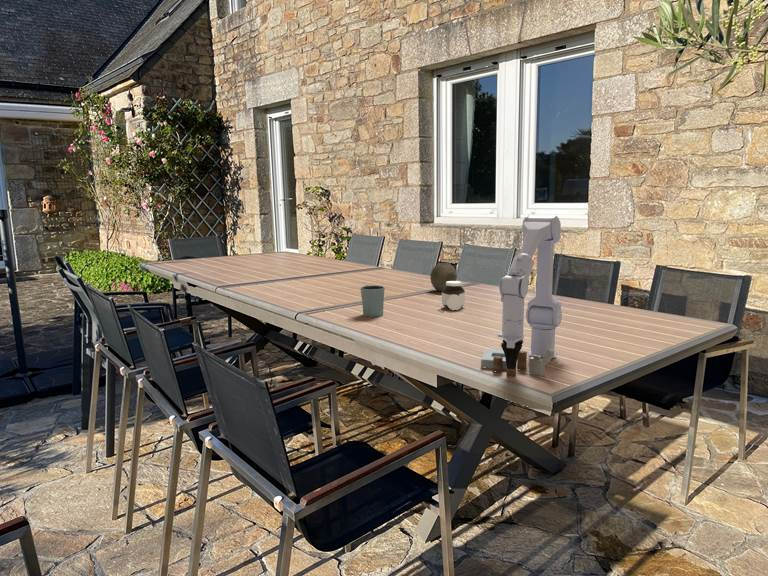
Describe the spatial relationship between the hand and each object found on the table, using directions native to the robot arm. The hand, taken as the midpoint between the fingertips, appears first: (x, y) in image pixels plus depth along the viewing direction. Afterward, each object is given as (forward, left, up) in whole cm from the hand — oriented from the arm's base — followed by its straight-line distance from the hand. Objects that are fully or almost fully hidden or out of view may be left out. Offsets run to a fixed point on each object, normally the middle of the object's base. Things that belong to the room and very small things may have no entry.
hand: (511, 366), depth 158 cm
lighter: (-3, +8, -3) cm, 9 cm away
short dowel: (-3, -4, -2) cm, 6 cm away
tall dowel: (0, 0, -2) cm, 2 cm away
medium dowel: (-7, +2, -2) cm, 8 cm away
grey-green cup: (-69, -62, -3) cm, 93 cm away
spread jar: (-92, -31, -3) cm, 97 cm away
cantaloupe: (-137, -44, -3) cm, 144 cm away
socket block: (-11, -5, -2) cm, 12 cm away
